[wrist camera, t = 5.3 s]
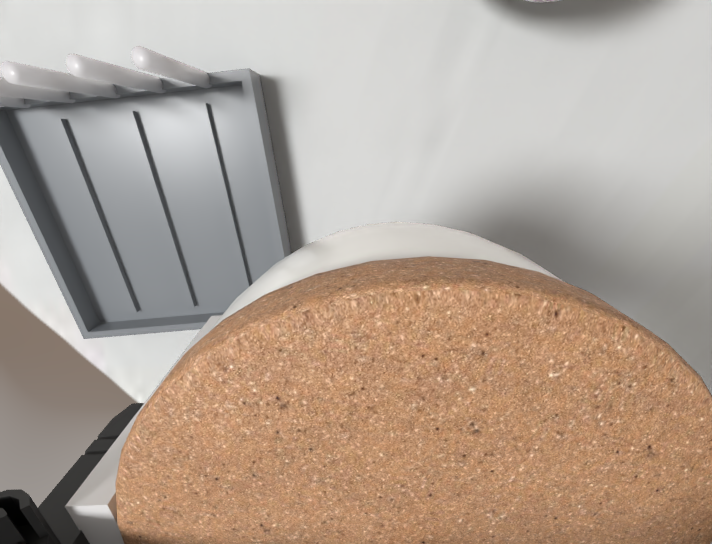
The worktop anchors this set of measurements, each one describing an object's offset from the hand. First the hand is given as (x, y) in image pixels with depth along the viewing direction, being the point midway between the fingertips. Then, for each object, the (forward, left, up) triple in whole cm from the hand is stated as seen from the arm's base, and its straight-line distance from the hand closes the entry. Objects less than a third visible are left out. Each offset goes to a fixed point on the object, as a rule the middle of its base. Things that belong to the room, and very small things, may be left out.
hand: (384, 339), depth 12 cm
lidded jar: (0, 0, -1) cm, 1 cm away
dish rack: (+2, +16, -16) cm, 22 cm away
